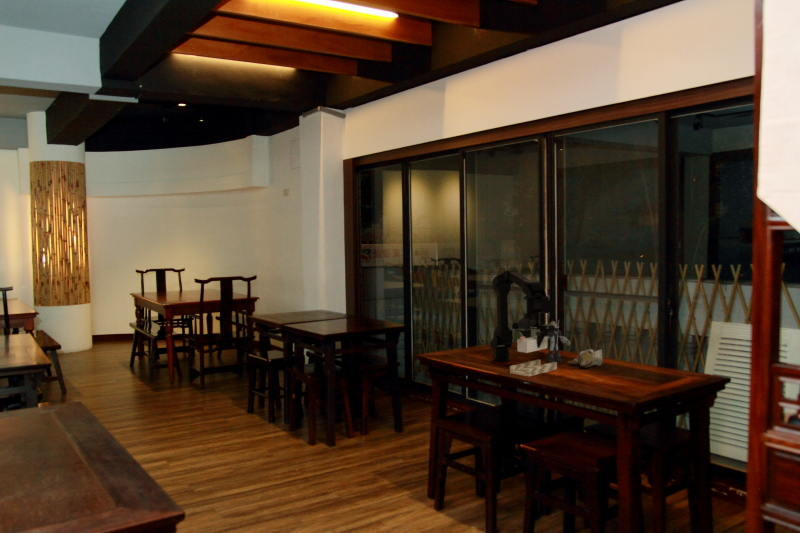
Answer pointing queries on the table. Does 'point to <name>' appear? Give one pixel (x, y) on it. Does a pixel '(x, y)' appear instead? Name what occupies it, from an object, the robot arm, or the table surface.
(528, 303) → the robot arm
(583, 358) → the ceramic sculpture
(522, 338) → the white bar with tab
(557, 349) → the robot
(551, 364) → the cradle
